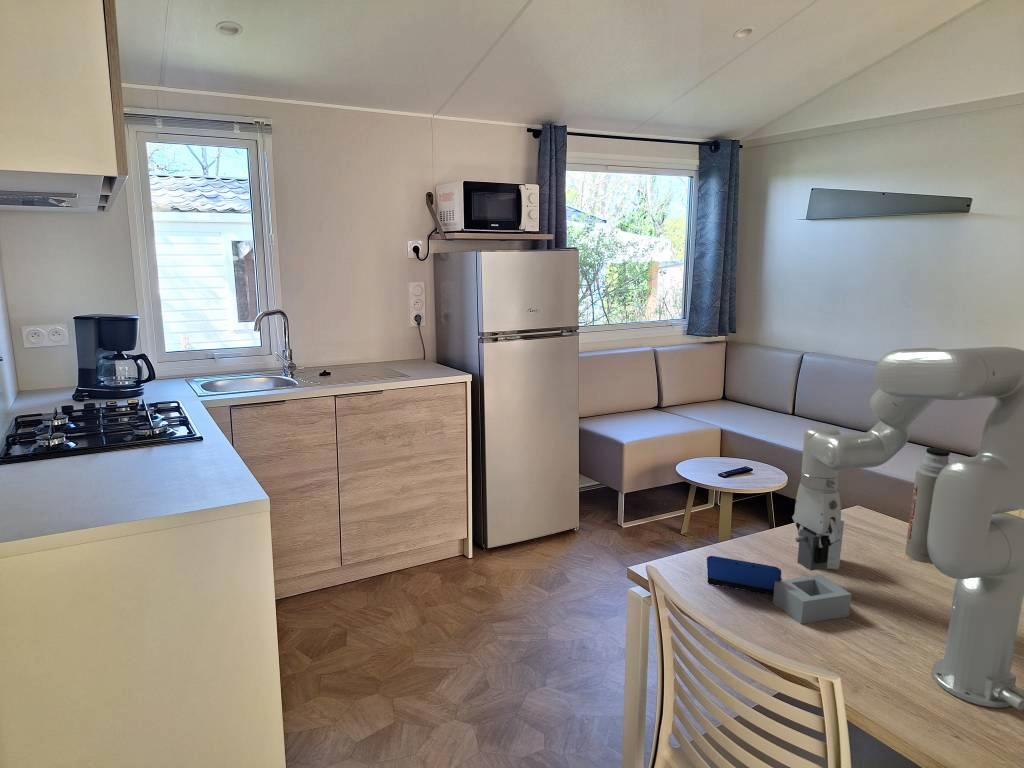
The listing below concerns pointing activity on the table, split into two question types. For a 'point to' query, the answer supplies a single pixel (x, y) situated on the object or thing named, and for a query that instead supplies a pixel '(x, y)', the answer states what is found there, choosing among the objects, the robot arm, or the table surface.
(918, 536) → the thermos bottle
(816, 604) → the socket
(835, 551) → the supplement box
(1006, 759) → the table surface
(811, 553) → the plug
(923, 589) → the table surface
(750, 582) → the handheld game console
